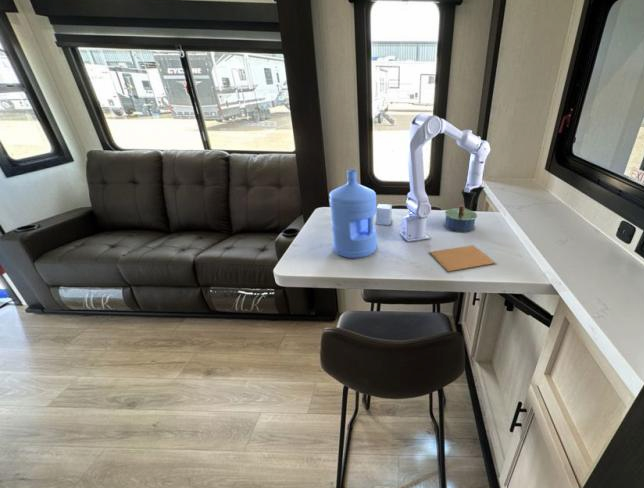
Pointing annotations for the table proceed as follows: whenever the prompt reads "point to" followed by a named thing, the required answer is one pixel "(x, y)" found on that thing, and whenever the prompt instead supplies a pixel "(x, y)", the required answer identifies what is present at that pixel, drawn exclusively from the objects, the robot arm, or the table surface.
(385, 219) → the product box
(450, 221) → the tin
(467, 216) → the lid
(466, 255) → the mat
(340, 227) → the water jug
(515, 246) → the table surface
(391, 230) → the table surface
